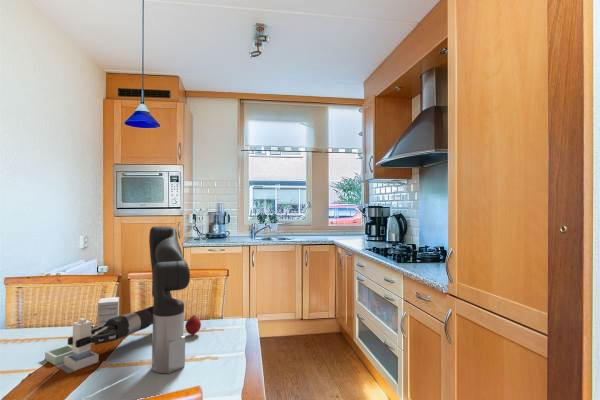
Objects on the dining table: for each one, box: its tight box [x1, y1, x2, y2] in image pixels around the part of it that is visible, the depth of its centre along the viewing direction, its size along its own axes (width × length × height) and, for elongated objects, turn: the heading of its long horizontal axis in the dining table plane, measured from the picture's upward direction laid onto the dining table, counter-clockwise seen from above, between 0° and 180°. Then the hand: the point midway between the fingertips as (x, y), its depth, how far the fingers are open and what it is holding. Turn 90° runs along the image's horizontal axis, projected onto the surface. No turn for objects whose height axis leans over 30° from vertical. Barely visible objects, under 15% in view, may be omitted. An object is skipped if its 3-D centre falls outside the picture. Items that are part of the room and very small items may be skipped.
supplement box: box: [96, 296, 120, 327], centre depth 135 cm, size 7×7×13 cm
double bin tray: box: [44, 344, 100, 374], centre depth 107 cm, size 17×9×3 cm, turn 58°
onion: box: [184, 314, 202, 336], centre depth 132 cm, size 6×6×8 cm
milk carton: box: [71, 317, 92, 361], centre depth 106 cm, size 4×4×14 cm
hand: (72, 343), depth 103 cm, fingers closed on milk carton, 3 cm apart
